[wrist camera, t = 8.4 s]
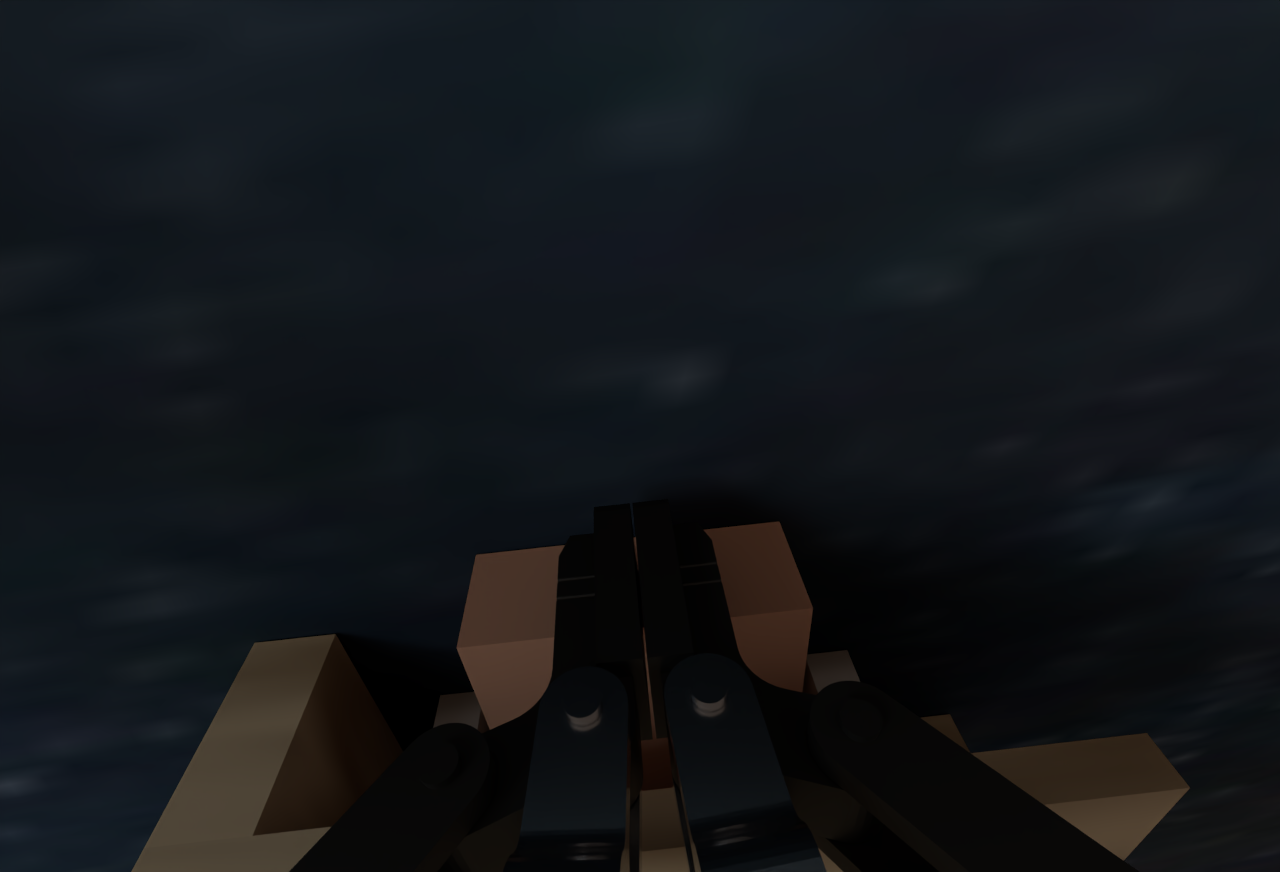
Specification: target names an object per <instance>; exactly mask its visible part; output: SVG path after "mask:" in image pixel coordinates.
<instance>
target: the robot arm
mask: <svg viewBox="0 0 1280 872" xmlns="http://www.w3.org/2000/svg"><path fill="white" fill-rule="evenodd" d="M633 513H634V524H635V534H636V545H637V556H638V566H639V577H640V588H641V598H642V609H643V620H644V630H645V641H646V652H647V662H648V670H649V679H650V687H651V696H652V704H653V713H654V721H655V730H656V738H657V739H658V738H667V737H668V746H669V755H670V764H671V772H672V782H673V790H674V796H675V801H676V806H677V812H678V817H679V823H680V828H681V833H682V839H683V844H684V850H685V855H686V861H687V866H688V871H689V872H827V871H826V868H825V866H824V863H823V860H822V857H821V854H820V851H819V849H820V850H821V851H822V852H823V853H824V854H825V855H826V856H827V857H828V858H829V859H831V860H832V861H833V862H834V863H835V864H836V865H837V866H838V867H839V868H840V869H841V870H842V871H843V872H1139V871H1137V870H1136V869H1135V868H1133V867H1132V866H1130V865H1129V864H1127V863H1126V862H1125V861H1123V860H1122V859H1120V858H1119V857H1117V856H1116V855H1115V854H1113V853H1112V852H1110V851H1109V850H1108V849H1106V848H1105V847H1103V846H1102V845H1100V844H1099V843H1098V842H1096V841H1095V840H1093V839H1092V838H1090V837H1089V836H1088V835H1086V834H1085V833H1083V832H1082V831H1081V830H1079V829H1078V828H1076V827H1075V826H1073V825H1072V824H1071V823H1069V822H1068V821H1066V820H1065V819H1063V818H1062V817H1061V816H1059V815H1058V814H1056V813H1055V812H1054V811H1052V810H1051V809H1049V808H1048V807H1046V806H1045V805H1044V804H1042V803H1041V802H1039V801H1038V800H1036V799H1035V798H1034V797H1032V796H1031V795H1029V794H1028V793H1027V792H1025V791H1024V790H1022V789H1021V788H1019V787H1018V786H1017V785H1015V784H1014V783H1012V782H1011V781H1009V780H1008V779H1007V778H1005V777H1004V776H1002V775H1001V774H1000V773H998V772H997V771H995V770H994V769H992V768H991V767H990V766H988V765H987V764H985V763H984V762H982V761H981V760H980V759H978V758H977V757H975V756H974V755H972V754H971V753H970V752H968V751H967V750H965V749H964V748H963V747H961V746H960V745H958V744H957V743H955V742H954V741H953V740H951V739H950V738H948V737H947V736H945V735H944V734H943V733H941V732H940V731H938V730H937V729H936V728H934V727H933V726H931V725H930V724H928V723H927V722H926V721H924V720H923V719H921V718H920V717H918V716H917V715H916V714H914V713H913V712H911V711H910V710H909V709H907V708H906V707H904V706H903V705H901V704H900V703H899V702H897V701H896V700H894V699H893V698H891V697H890V696H889V695H887V694H886V693H884V692H883V691H881V690H879V689H878V688H876V687H874V686H871V685H869V684H866V683H862V682H858V681H839V682H835V683H832V684H829V685H828V686H826V687H824V688H823V689H822V690H821V691H820V692H818V694H817V695H813V694H808V693H803V692H798V691H794V690H789V689H784V688H780V687H777V686H774V685H772V684H770V683H767V682H766V681H764V680H762V679H761V678H759V677H758V676H757V675H755V674H754V673H753V672H752V671H751V670H750V669H749V668H748V667H747V665H746V664H745V663H744V661H743V659H742V657H741V655H740V653H739V650H738V647H737V643H736V638H735V634H734V630H733V626H732V622H731V618H730V613H729V609H728V605H727V601H726V597H725V593H724V588H723V584H722V582H721V576H720V572H719V568H718V565H717V559H716V555H715V551H714V547H713V543H712V539H711V538H710V537H709V536H708V535H707V533H706V532H705V531H704V530H703V529H702V528H701V526H700V525H699V524H698V523H697V522H693V523H684V524H675V525H672V520H671V514H670V508H669V502H668V499H665V500H656V501H646V502H637V503H633ZM557 579H558V583H557V596H556V597H557V601H556V614H555V633H554V651H553V669H552V676H551V679H550V682H549V685H548V687H547V689H546V691H545V692H544V694H543V695H542V697H541V698H540V699H539V700H538V702H537V703H536V704H535V705H534V706H533V707H532V708H530V709H529V710H528V711H527V712H525V713H524V714H522V715H521V716H519V717H517V718H515V719H513V720H511V721H509V722H506V723H504V724H502V725H500V726H497V727H495V728H493V729H491V730H488V731H486V732H484V733H480V732H479V731H478V730H477V729H476V728H474V727H472V726H470V725H467V724H464V723H447V724H443V725H439V726H437V727H434V728H432V729H430V730H428V731H426V732H424V733H423V734H422V735H420V736H419V737H418V738H416V739H415V740H414V741H413V742H412V743H411V744H410V745H409V746H408V747H407V748H406V749H405V750H404V751H403V752H402V753H401V755H400V756H399V757H398V758H397V759H396V760H395V761H394V762H393V763H392V764H391V765H390V766H389V767H388V768H387V769H386V770H385V771H384V772H383V773H382V774H381V775H380V777H379V778H378V779H377V780H376V781H375V782H374V783H373V784H372V785H371V786H370V787H369V788H368V789H367V790H366V791H365V792H364V793H363V794H362V795H361V796H360V798H359V799H358V800H357V801H356V802H355V803H354V804H353V805H352V806H351V807H350V808H349V809H348V810H347V811H346V812H345V813H344V814H343V815H342V816H341V817H340V818H339V820H338V821H337V822H336V823H335V824H334V825H333V826H332V827H331V828H330V829H329V830H328V831H327V832H326V833H325V834H324V835H323V836H322V837H321V838H320V839H319V841H318V842H317V843H316V844H315V845H314V846H313V847H312V848H311V849H310V850H309V851H308V852H307V853H306V854H305V855H304V856H303V857H302V858H301V859H300V860H299V861H298V863H297V864H296V865H295V866H294V867H293V868H292V869H291V870H290V871H289V872H642V783H643V761H642V748H641V741H643V740H652V739H653V737H652V726H651V715H650V704H649V693H648V682H647V670H646V659H645V648H644V637H643V626H642V615H641V604H640V593H639V583H638V572H637V563H636V554H635V545H634V537H633V528H632V520H631V511H630V504H620V505H611V506H601V507H594V533H593V534H584V535H574V536H570V537H569V539H568V541H567V542H566V544H565V546H564V548H563V550H562V551H561V553H560V555H559V559H558V578H557ZM818 848H819V849H818Z"/></svg>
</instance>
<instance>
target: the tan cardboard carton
mask: <svg viewBox="0 0 1280 872" xmlns="http://www.w3.org/2000/svg"><path fill="white" fill-rule="evenodd" d="M704 531H705V532H706V533H707V535H708V536H709V537H710V538H711V539H712V543H713V547H714V551H715V555H716V559H717V565H718V568H719V572H720V576H721V582H722V584H723V588H724V593H725V597H726V601H727V605H728V609H729V613H730V618H731V622H732V626H733V630H734V634H735V638H736V643H737V647H738V650H739V653H740V655H741V657H742V659H743V661H744V663H745V664H746V665H747V667H748V668H749V669H750V670H751V671H752V672H753V673H754V674H755V675H757V676H758V677H759V678H761V679H762V680H764V681H766V682H767V683H770V684H772V685H774V686H777V687H780V688H784V689H789V690H794V691H798V692H802V690H803V682H804V675H805V667H806V659H807V651H808V643H809V636H810V628H811V620H812V612H813V607H812V604H811V602H810V599H809V596H808V594H807V591H806V589H805V586H804V584H803V581H802V578H801V576H800V573H799V571H798V568H797V566H796V563H795V560H794V558H793V555H792V553H791V550H790V548H789V545H788V542H787V540H786V537H785V535H784V532H783V530H782V527H781V524H780V522H779V521H778V522H769V523H760V524H751V525H742V526H733V527H724V528H715V529H706V530H704ZM634 545H635V554H636V563H637V572H638V583H639V593H640V604H641V615H642V626H643V637H644V648H645V659H646V670H647V682H648V693H649V704H650V715H651V726H652V737H653V739H652V740H643V741H641V748H642V761H643V783H642V791H647V790H656V789H664V788H673V782H672V772H671V764H670V755H669V746H668V737H667V738H658V739H657V738H656V730H655V721H654V713H653V704H652V696H651V687H650V679H649V670H648V662H647V652H646V641H645V630H644V620H643V609H642V598H641V588H640V577H639V566H638V556H637V545H636V537H634ZM564 546H565V545H560V546H551V547H542V548H533V549H524V550H515V551H506V552H497V553H488V554H479V555H476V557H475V562H474V567H473V572H472V577H471V581H470V586H469V591H468V596H467V600H466V605H465V610H464V615H463V620H462V624H461V629H460V634H459V639H458V643H457V651H458V653H459V656H460V658H461V660H462V663H463V665H464V668H465V670H466V673H467V675H468V678H469V680H470V682H471V685H472V687H473V690H474V692H475V695H476V697H477V699H478V702H479V704H480V707H481V709H482V712H483V714H484V717H485V719H486V721H487V724H488V726H489V729H490V730H491V729H493V728H495V727H497V726H500V725H502V724H504V723H506V722H509V721H511V720H513V719H515V718H517V717H519V716H521V715H522V714H524V713H525V712H527V711H528V710H529V709H530V708H532V707H533V706H534V705H535V704H536V703H537V702H538V700H539V699H540V698H541V697H542V695H543V694H544V692H545V691H546V689H547V687H548V685H549V682H550V679H551V676H552V669H553V651H554V633H555V614H556V601H557V597H556V596H557V583H558V579H557V578H558V559H559V555H560V553H561V551H562V550H563V548H564Z"/></svg>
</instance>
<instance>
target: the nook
mask: <svg viewBox="0 0 1280 872" xmlns="http://www.w3.org/2000/svg"><path fill="white" fill-rule="evenodd" d="M839 681H858V682H860V680H859V677H858V675H857V672H856V670H855V668H854V665H853V663H852V660H851V658H850V656H849V653H848V651H847V650H843V651H834V652H825V653H816V654H807V659H806V667H805V675H804V682H803V690H802V692H803V693H808V694H813V695H817V694H818V692H820V691H821V690H822V689H823V688H824V687H826V686H828V685H829V684H832V683H835V682H839ZM921 719H923V720H924V721H926V722H927V723H928V724H930V725H931V726H933V727H934V728H936V729H937V730H938V731H940V732H941V733H943V734H944V735H945V736H947V737H948V738H950V739H951V740H953V741H954V742H955V743H957V744H958V745H960V746H961V747H963V748H964V749H965V750H967V751H968V752H969V750H968V748H967V746H966V744H965V742H964V740H963V738H962V736H961V734H960V733H959V731H958V729H957V727H956V725H955V723H954V721H953V719H952V717H951V716H950V714H948V715H939V716H930V717H921ZM447 723H464V724H467V725H470V726H472V727H474V728H476V729H477V730H478V731H479V732H480V733H484V732H486V731H488V730H490V729H489V726H488V724H487V721H486V719H485V717H484V714H483V712H482V709H481V707H480V704H479V702H478V699H477V697H476V695H475V692H466V693H457V694H448V695H440V699H439V704H438V708H437V713H436V717H435V722H434V726H433V728H434V727H437V726H439V725H443V724H447ZM402 752H403V750H402V748H401V747H400V745H399V743H398V741H397V740H396V738H395V736H394V734H393V733H392V731H391V729H390V728H389V726H388V724H387V722H386V721H385V719H384V717H383V715H382V714H381V712H380V710H379V708H378V707H377V705H376V703H375V701H374V700H373V698H372V696H371V695H370V693H369V691H368V689H367V688H366V686H365V684H364V682H363V681H362V679H361V677H360V675H359V674H358V672H357V670H356V669H355V667H354V665H353V663H352V662H351V660H350V658H349V656H348V655H347V653H346V651H345V649H344V648H343V646H342V644H341V643H340V641H339V639H338V637H337V636H336V634H331V635H322V636H313V637H304V638H295V639H286V640H277V641H267V642H258V643H254V645H253V647H252V649H251V650H250V652H249V654H248V656H247V658H246V660H245V662H244V663H243V665H242V667H241V669H240V671H239V673H238V675H237V676H236V678H235V680H234V682H233V684H232V686H231V688H230V689H229V691H228V693H227V695H226V697H225V699H224V701H223V702H222V704H221V706H220V708H219V710H218V712H217V714H216V715H215V717H214V719H213V721H212V723H211V725H210V727H209V729H208V730H207V732H206V734H205V736H204V738H203V740H202V742H201V743H200V745H199V747H198V749H197V751H196V753H195V755H194V756H193V758H192V760H191V762H190V764H189V766H188V768H187V769H186V771H185V773H184V775H183V777H182V779H181V781H180V782H179V784H178V786H177V788H176V790H175V792H174V794H173V795H172V797H171V799H170V801H169V803H168V805H167V807H166V808H165V810H164V812H163V814H162V816H161V818H160V820H159V821H158V823H157V825H156V827H155V829H154V831H153V833H152V834H151V836H150V838H149V840H148V842H147V844H146V846H145V847H144V849H143V851H142V853H141V855H140V857H139V859H138V860H137V862H136V864H135V866H134V868H133V870H132V872H289V871H290V870H291V869H292V868H293V867H294V866H295V865H296V864H297V863H298V861H299V860H300V859H301V858H302V857H303V856H304V855H305V854H306V853H307V852H308V851H309V850H310V849H311V848H312V847H313V846H314V845H315V844H316V843H317V842H318V841H319V839H320V838H321V837H322V836H323V835H324V834H325V833H326V832H327V831H328V830H329V829H330V828H331V827H332V826H333V825H334V824H335V823H336V822H337V821H338V820H339V818H340V817H341V816H342V815H343V814H344V813H345V812H346V811H347V810H348V809H349V808H350V807H351V806H352V805H353V804H354V803H355V802H356V801H357V800H358V799H359V798H360V796H361V795H362V794H363V793H364V792H365V791H366V790H367V789H368V788H369V787H370V786H371V785H372V784H373V783H374V782H375V781H376V780H377V779H378V778H379V777H380V775H381V774H382V773H383V772H384V771H385V770H386V769H387V768H388V767H389V766H390V765H391V764H392V763H393V762H394V761H395V760H396V759H397V758H398V757H399V756H400V755H401V753H402ZM971 754H972V755H974V756H975V757H977V758H978V759H980V760H981V761H982V762H984V763H985V764H987V765H988V766H990V767H991V768H992V769H994V770H995V771H997V772H998V773H1000V774H1001V775H1002V776H1004V777H1005V778H1007V779H1008V780H1009V781H1011V782H1012V783H1014V784H1015V785H1017V786H1018V787H1019V788H1021V789H1022V790H1024V791H1025V792H1027V793H1028V794H1029V795H1031V796H1032V797H1034V798H1035V799H1036V800H1038V801H1039V802H1041V803H1042V804H1044V805H1045V806H1046V807H1048V808H1049V809H1051V810H1052V811H1054V812H1055V813H1056V814H1058V815H1059V816H1061V817H1062V818H1063V819H1065V820H1066V821H1068V822H1069V823H1071V824H1072V825H1073V826H1075V827H1076V828H1078V829H1079V830H1081V831H1082V832H1083V833H1085V834H1086V835H1088V836H1089V837H1090V838H1092V839H1093V840H1095V841H1096V842H1098V843H1099V844H1100V845H1102V846H1103V847H1105V848H1106V849H1108V850H1109V851H1110V852H1112V853H1113V854H1115V855H1116V856H1117V857H1119V858H1120V859H1122V860H1123V861H1124V860H1125V859H1126V857H1127V856H1128V855H1129V854H1130V853H1131V852H1132V851H1133V850H1134V849H1135V848H1136V846H1137V845H1138V844H1139V843H1140V842H1141V841H1142V840H1143V839H1144V838H1145V837H1146V836H1147V834H1148V833H1149V832H1150V831H1151V830H1152V829H1153V828H1154V827H1155V826H1156V825H1157V824H1158V822H1159V821H1160V820H1161V819H1162V818H1163V817H1164V816H1165V815H1166V814H1167V813H1168V812H1169V810H1170V809H1171V808H1172V807H1173V806H1174V805H1175V804H1176V803H1177V802H1178V801H1179V799H1180V798H1181V797H1182V796H1183V795H1184V794H1185V793H1186V792H1187V791H1188V790H1189V789H1190V787H1189V786H1188V785H1187V783H1186V782H1185V781H1184V780H1183V778H1182V777H1181V776H1180V774H1179V773H1178V772H1177V771H1176V769H1175V768H1174V767H1173V766H1172V764H1171V763H1170V762H1169V761H1168V759H1167V758H1166V757H1165V756H1164V754H1163V753H1162V752H1161V750H1160V749H1159V748H1158V747H1157V745H1156V744H1155V743H1154V742H1153V740H1152V739H1151V738H1150V737H1149V735H1148V734H1147V733H1143V734H1135V735H1126V736H1117V737H1109V738H1100V739H1091V740H1083V741H1074V742H1065V743H1056V744H1048V745H1039V746H1030V747H1022V748H1013V749H1004V750H995V751H987V752H978V753H971ZM818 849H819V848H818ZM819 851H820V854H821V857H822V860H823V863H824V866H825V868H826V871H827V872H843V871H842V870H841V869H840V868H839V867H838V866H837V865H836V864H835V863H834V862H833V861H832V860H831V859H829V858H828V857H827V856H826V855H825V854H824V853H823V852H822V851H821V850H820V849H819ZM642 872H689V871H688V866H687V861H686V855H685V850H684V844H683V839H682V833H681V828H680V823H679V817H678V812H677V806H676V801H675V796H674V790H673V788H664V789H656V790H647V791H642Z"/></svg>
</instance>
